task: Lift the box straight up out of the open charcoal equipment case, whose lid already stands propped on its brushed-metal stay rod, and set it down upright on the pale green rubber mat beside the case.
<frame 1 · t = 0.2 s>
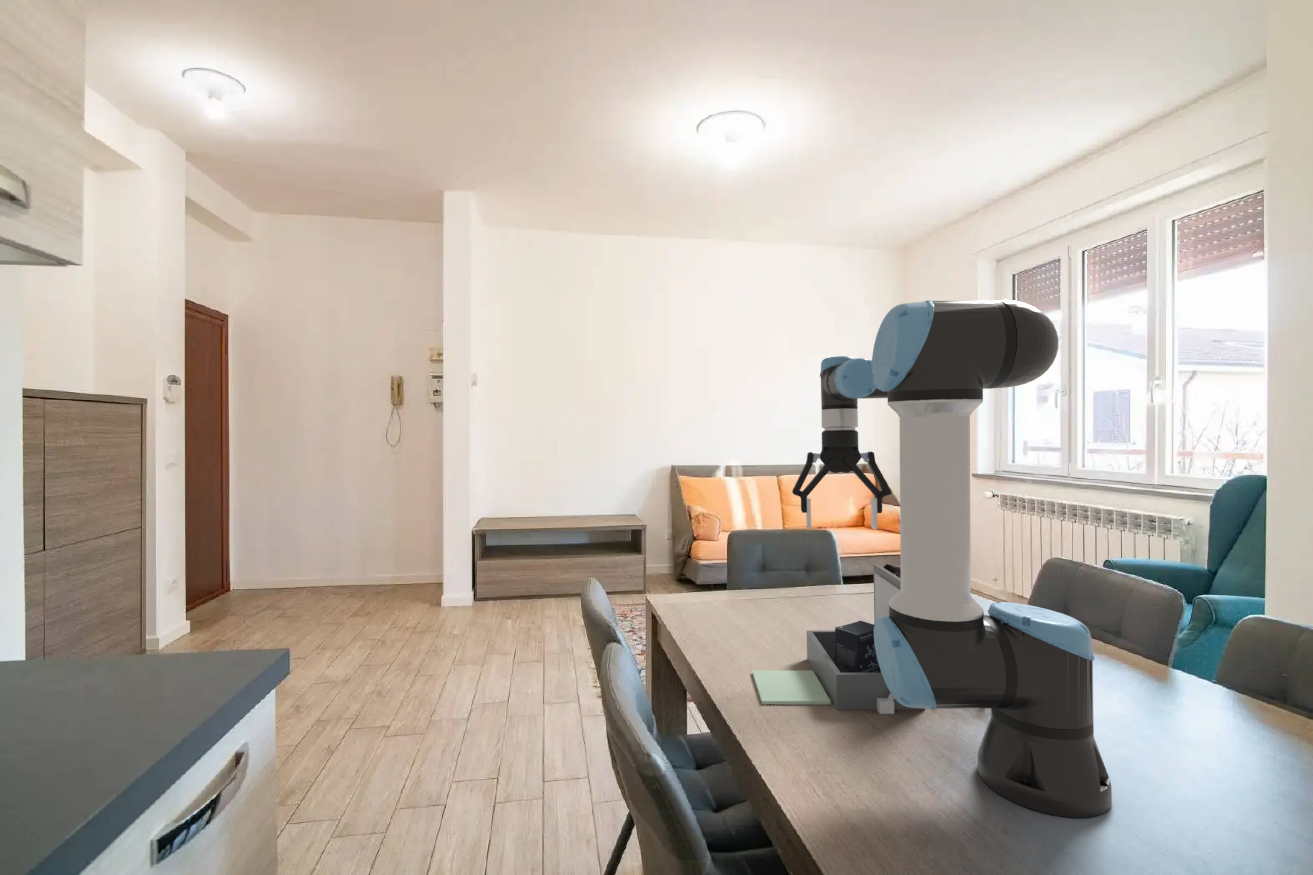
hand: (841, 528, 130), 27 cm above the table, fingers open, 13 cm apart
moka pot: (914, 646, 135), on the table
box: (859, 682, 116), resting in case
case: (859, 681, 116), on the table
pad: (789, 687, 113), on the table
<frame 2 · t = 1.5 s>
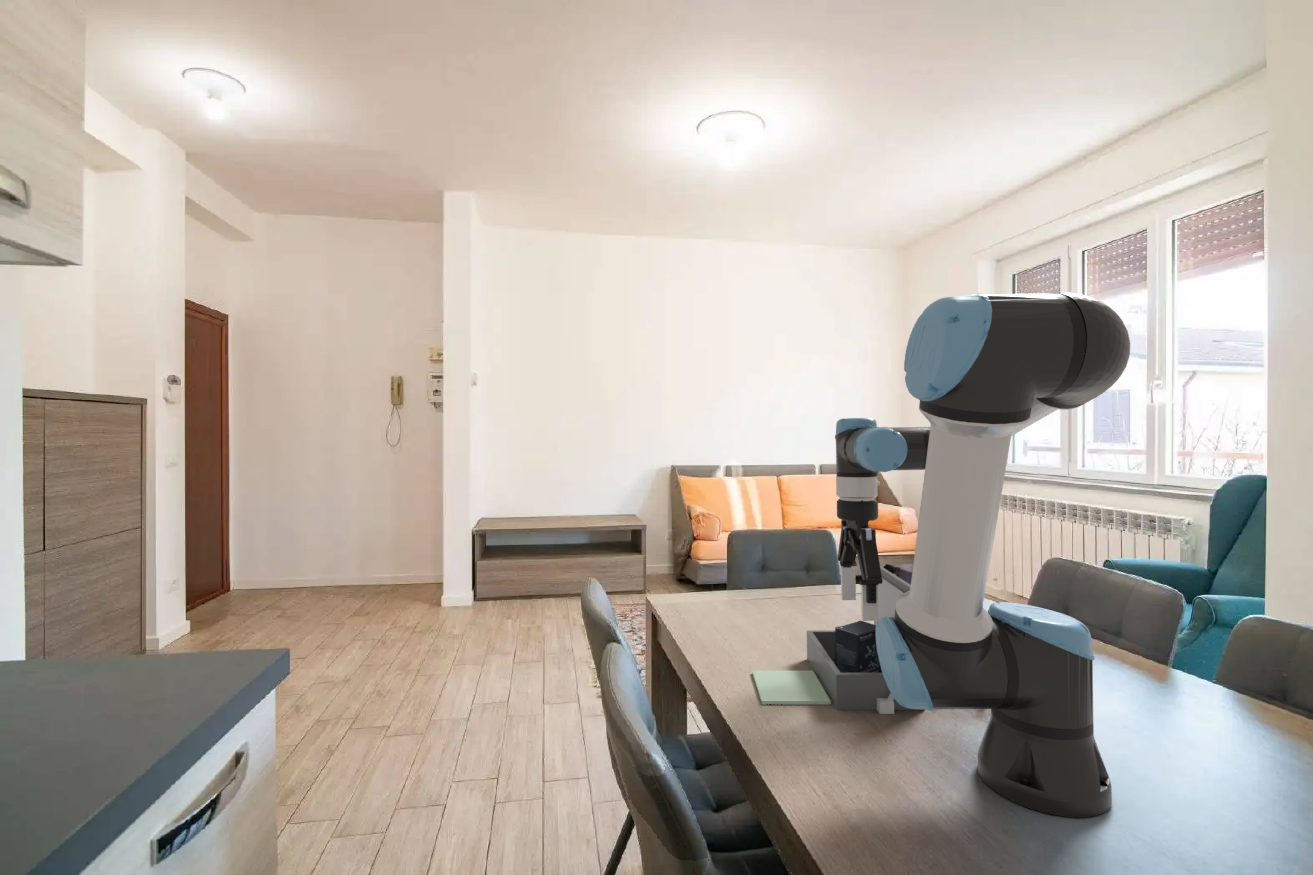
hand: (858, 609, 116), 14 cm above the table, fingers open, 13 cm apart
nothing on the table moved.
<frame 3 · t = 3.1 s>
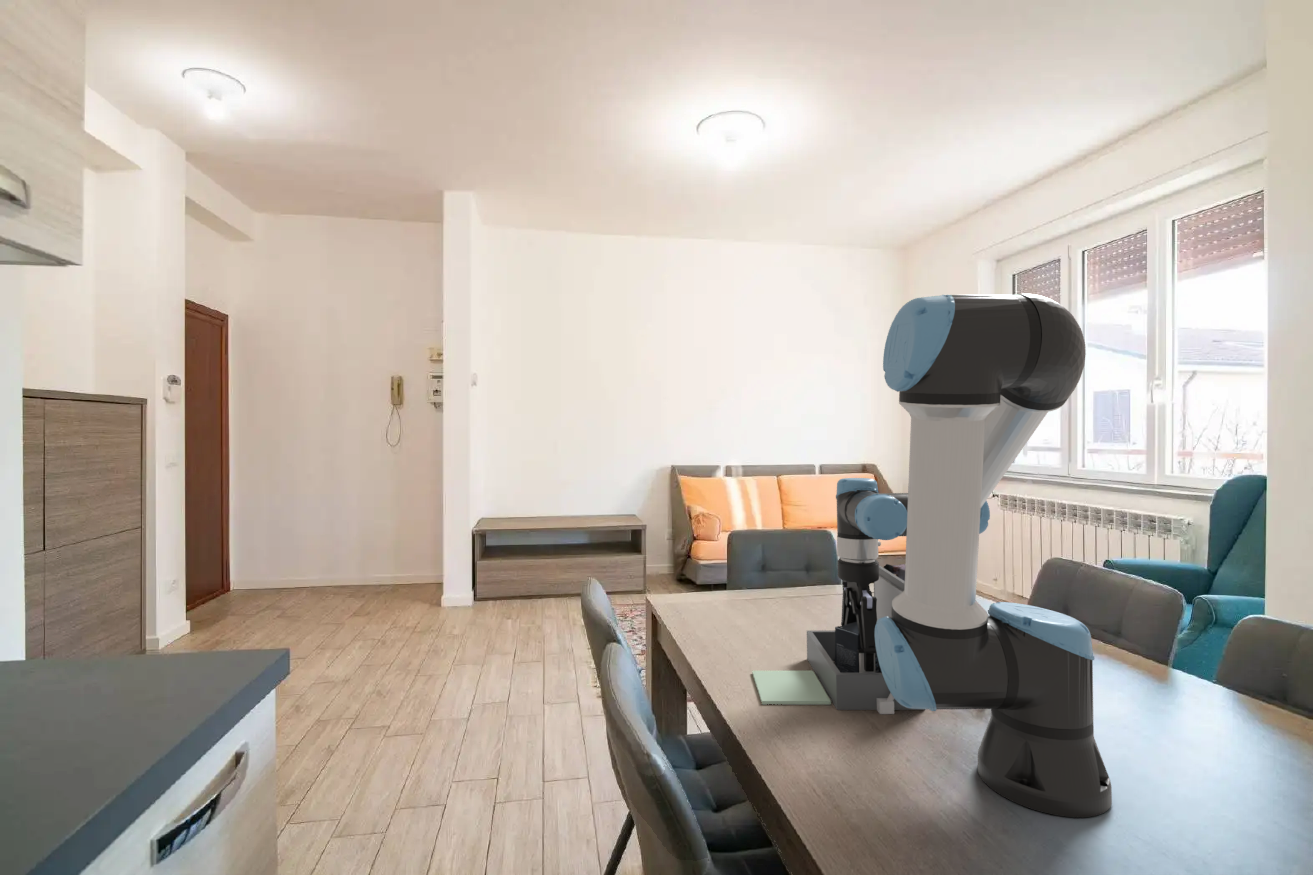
hand: (859, 676, 116), 1 cm above the table, fingers closed on box, 9 cm apart
box: (859, 682, 116), resting in case, touching gripper
everything else where it was.
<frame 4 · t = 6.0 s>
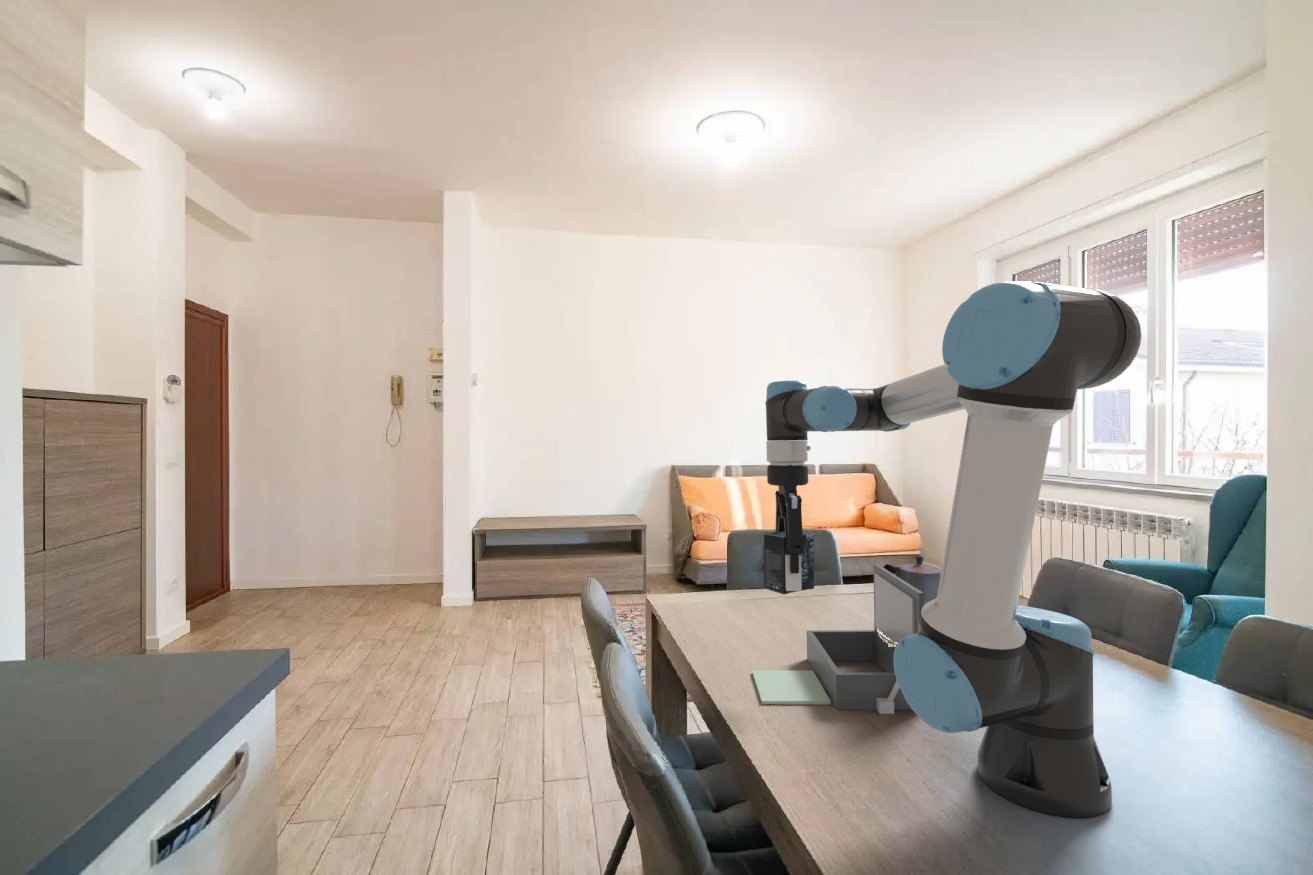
hand: (789, 583, 113), 19 cm above the table, fingers closed on box, 9 cm apart
box: (789, 590, 113), point 18 cm above the table, touching gripper
everything else where it was.
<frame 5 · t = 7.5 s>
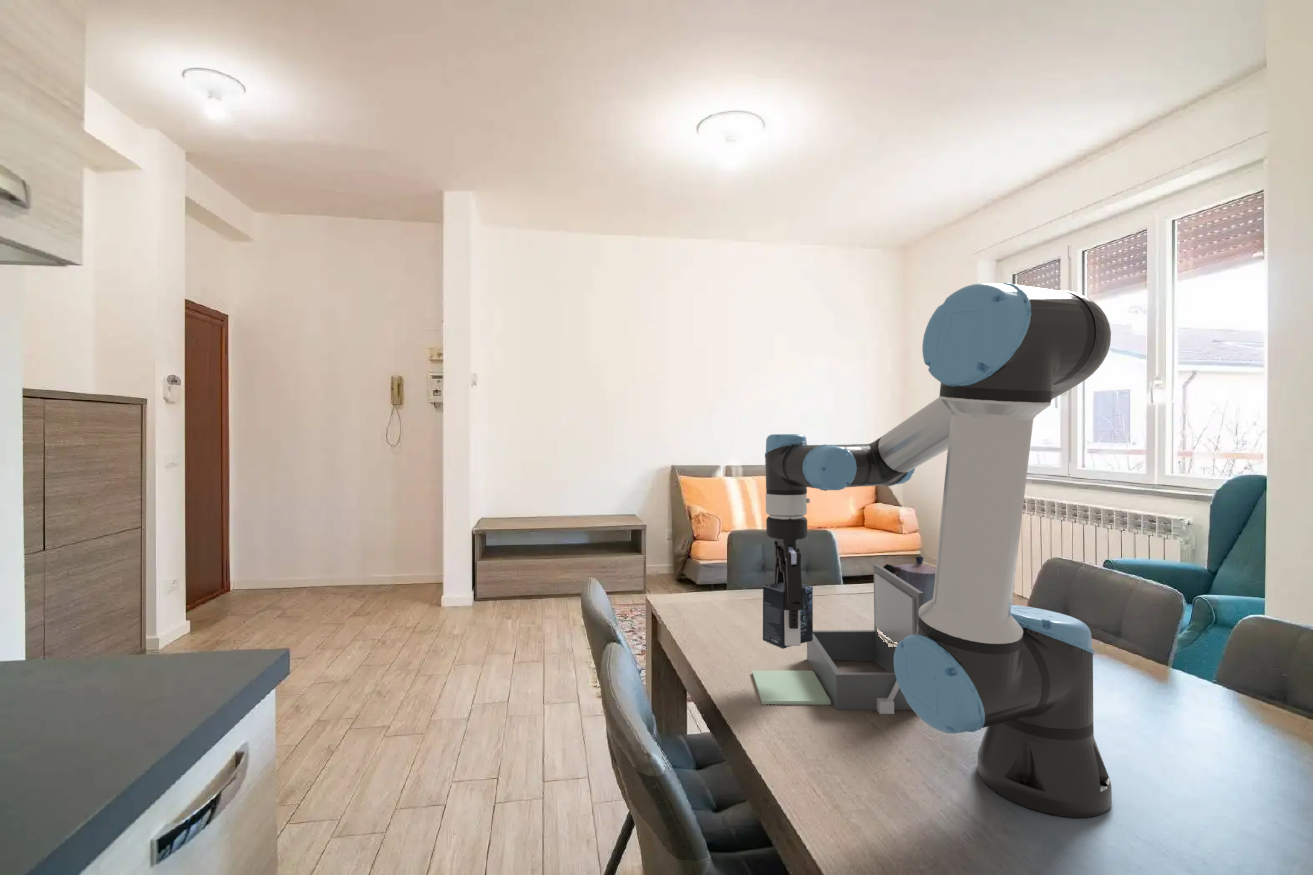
hand: (787, 636, 113), 10 cm above the table, fingers closed on box, 9 cm apart
box: (788, 642, 113), point 8 cm above the table, touching gripper
everything else where it was.
when the fingers open (3 cm above the table, at t = 9.0 s): box drops 1 cm, resting on pad.
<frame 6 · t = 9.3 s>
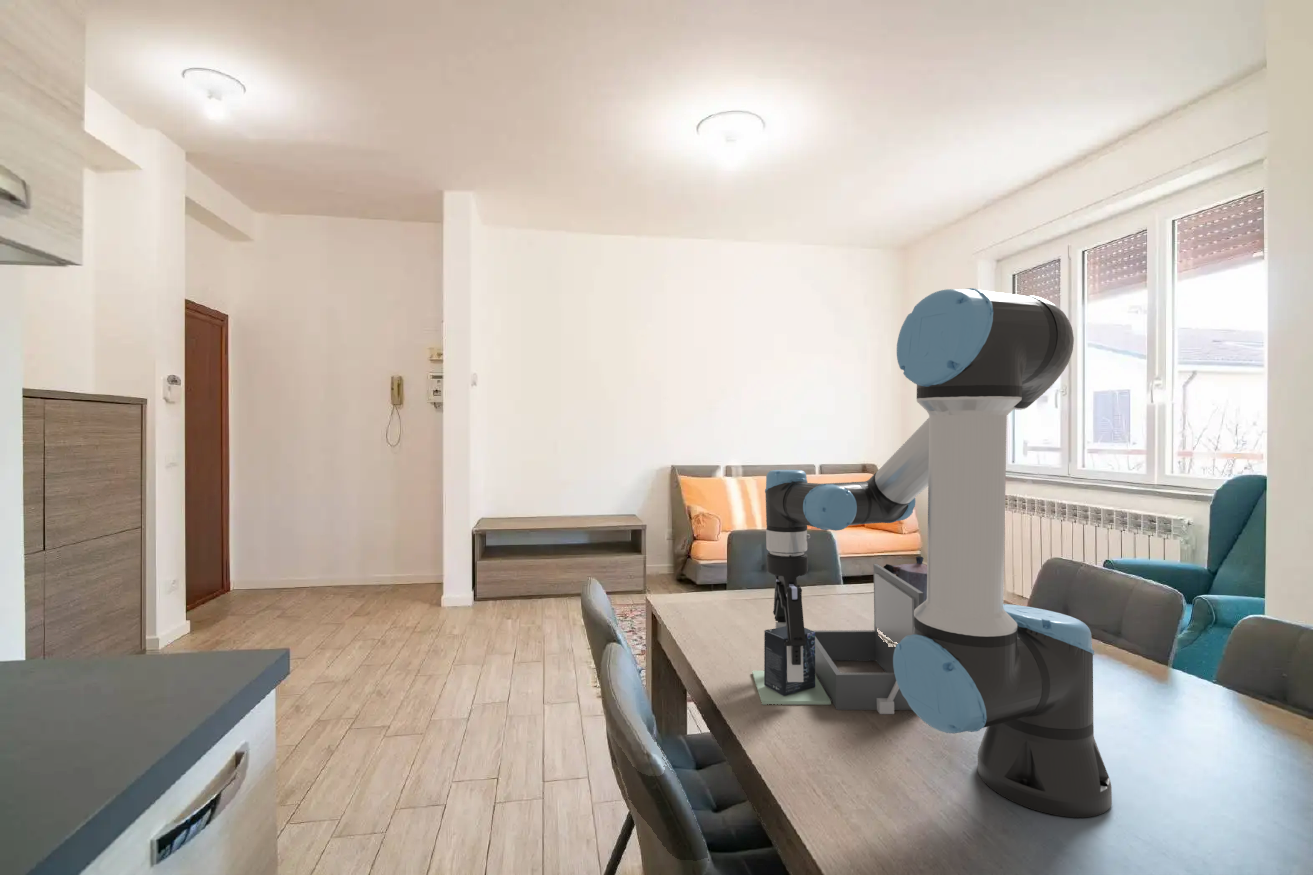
hand: (788, 667, 113), 4 cm above the table, fingers open, 12 cm apart
box: (789, 688, 112), resting on pad
everything else where it was.
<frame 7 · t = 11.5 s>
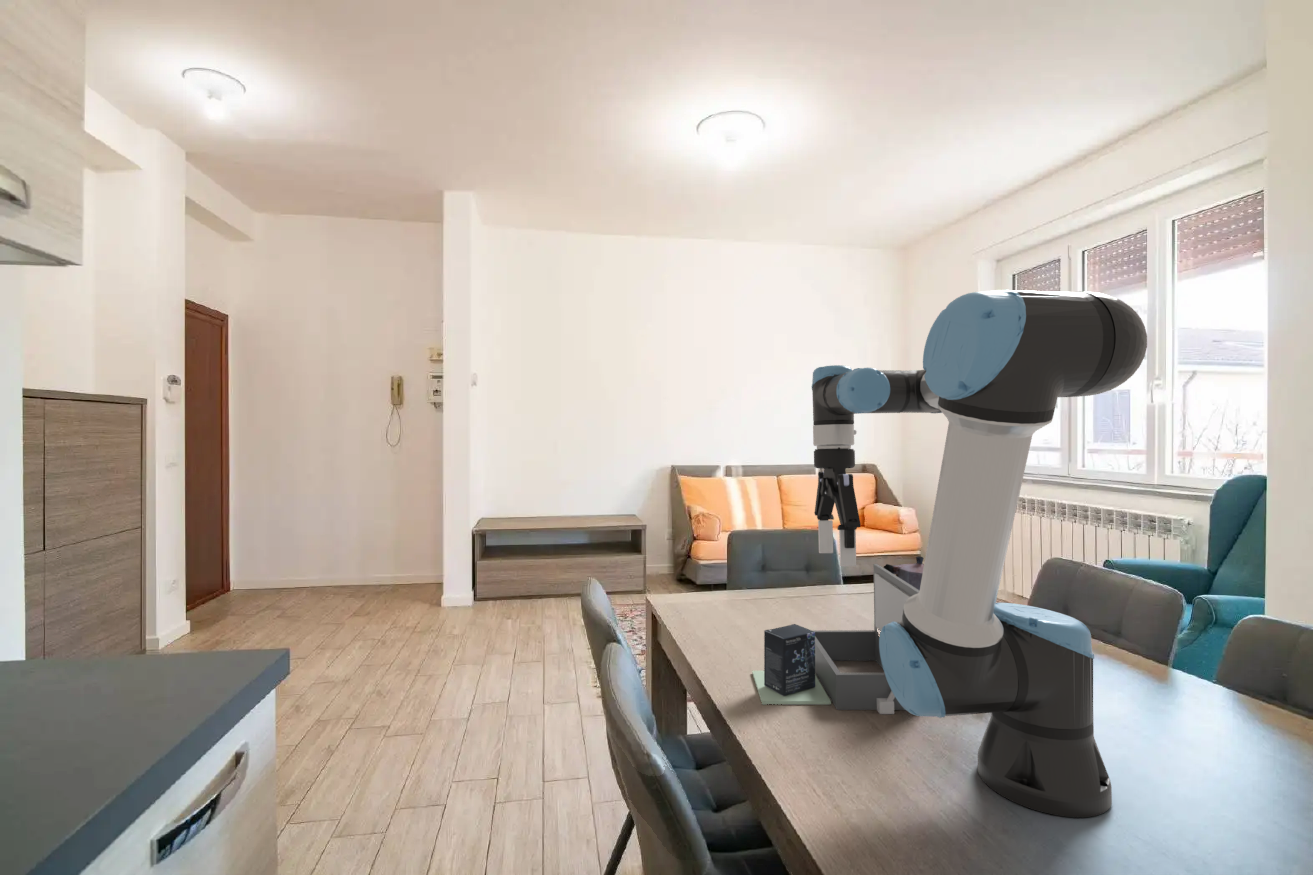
hand: (836, 559, 115), 24 cm above the table, fingers open, 13 cm apart
nothing on the table moved.
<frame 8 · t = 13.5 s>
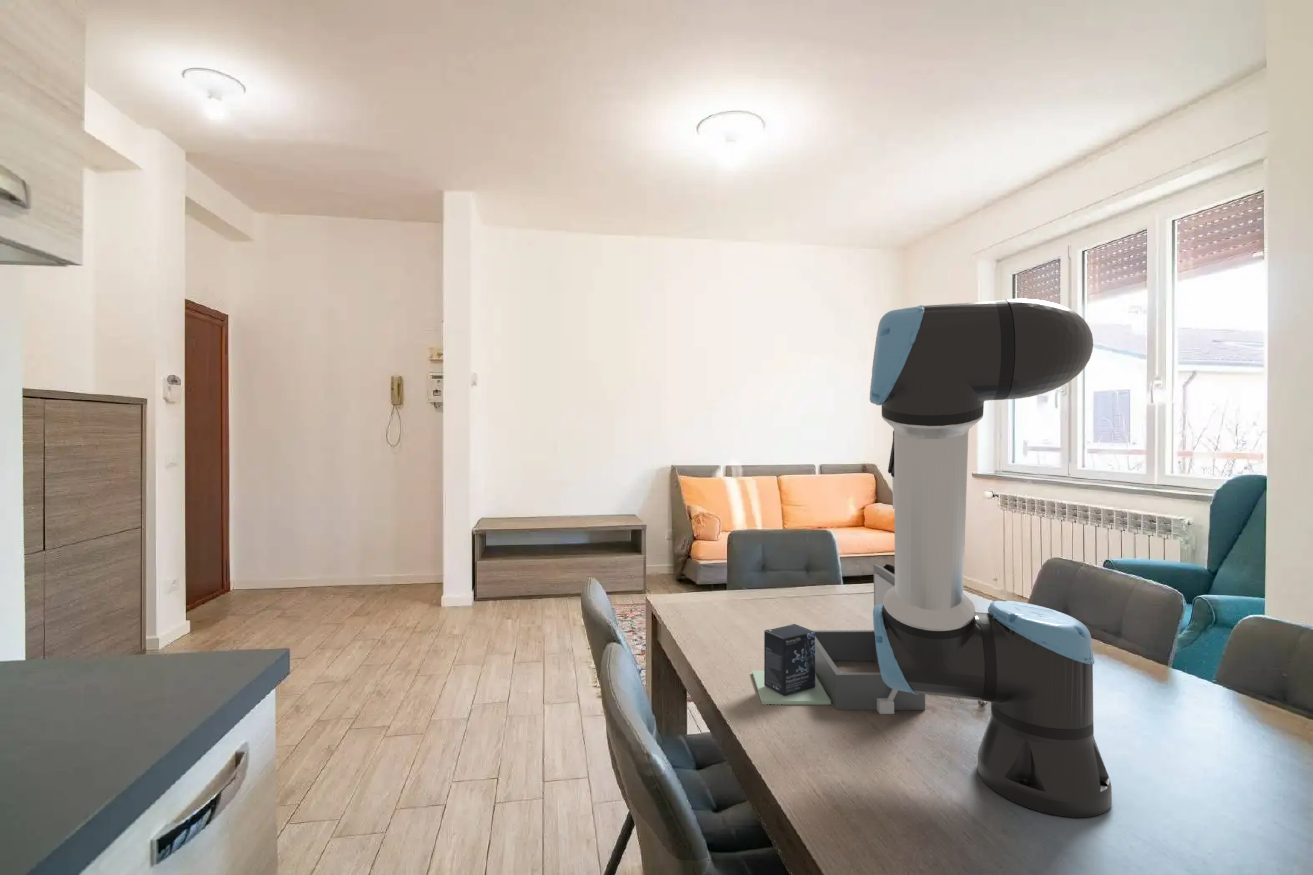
hand: (912, 512, 119), 32 cm above the table, fingers open, 13 cm apart
nothing on the table moved.
at the end: box inside the target area on the pad (1.1 cm from its centre), point 0.4 cm above the pad's base; box tilted 0°; the gripper is holding nothing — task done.
